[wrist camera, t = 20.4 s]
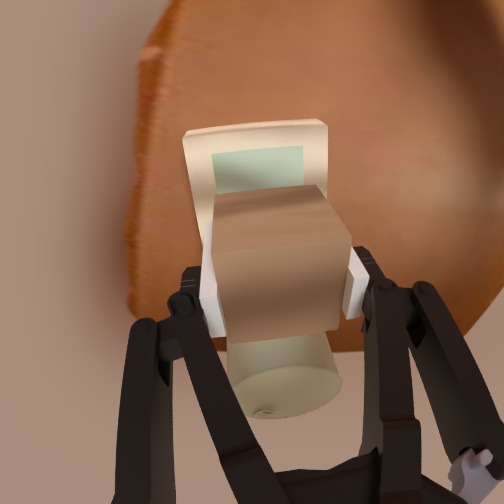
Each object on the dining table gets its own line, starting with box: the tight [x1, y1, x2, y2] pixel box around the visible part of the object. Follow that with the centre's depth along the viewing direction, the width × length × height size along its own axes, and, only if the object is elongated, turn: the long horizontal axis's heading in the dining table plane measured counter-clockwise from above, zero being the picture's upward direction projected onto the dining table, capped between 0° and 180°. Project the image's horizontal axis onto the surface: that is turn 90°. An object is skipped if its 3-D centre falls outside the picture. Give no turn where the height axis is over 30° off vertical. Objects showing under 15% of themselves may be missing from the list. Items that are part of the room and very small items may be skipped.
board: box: [182, 119, 328, 334], centre depth 28 cm, size 22×11×3 cm, turn 5°
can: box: [226, 329, 342, 419], centre depth 26 cm, size 9×9×12 cm
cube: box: [211, 184, 352, 344], centre depth 16 cm, size 6×6×6 cm
